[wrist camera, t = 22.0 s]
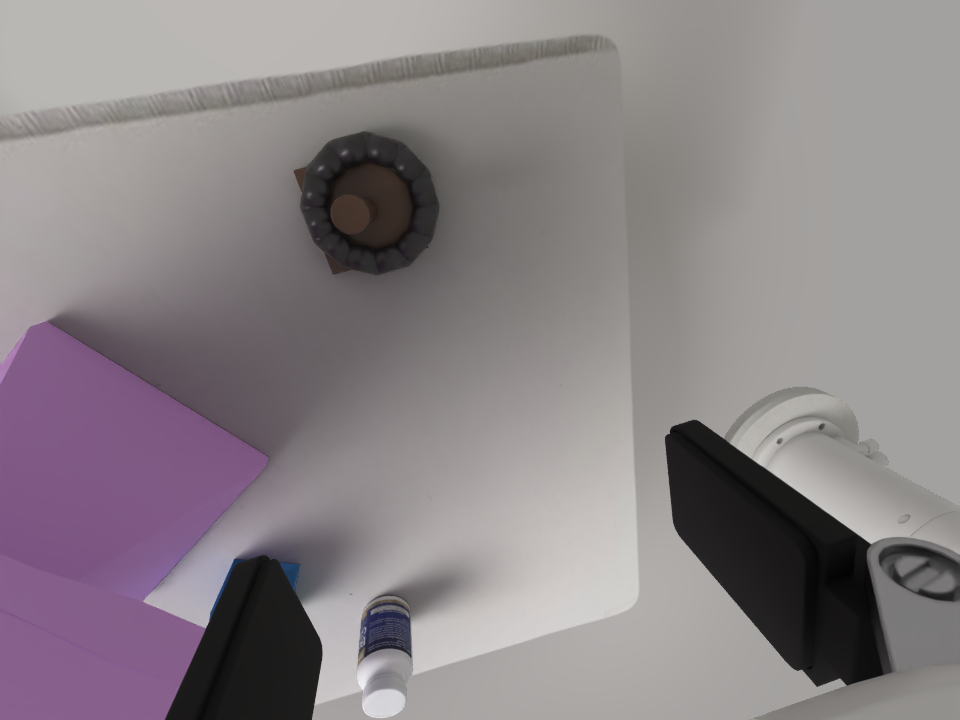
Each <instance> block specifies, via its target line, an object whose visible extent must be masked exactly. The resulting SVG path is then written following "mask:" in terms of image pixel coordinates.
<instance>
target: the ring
mask: <svg viewBox="0 0 960 720" xmlns="http://www.w3.org/2000/svg"><path fill="white" fill-rule="evenodd" d="M367 162H369V163H373V164H376V165H379V166H383V167H386V168H390V169H391V170H392V171H393V172H394V173H395V174H396V175H397V176H398V177H399V178H400V179H401V180H402V181H403V182H404V183H405V184H406V186H407V189H408V192H409V195H410V199H411V202H412V205H413V209H412V214H411V219H410V223H409V228H408V229H407V230H406V231H405V232H404V233H403V234H402V236H401V237H400V238H399V239H398V240H397V241H396V242H395V243H393V244H389V245H386V246H383V247H379V248H376V249H375V248H370V247H366V246H362V245H358V244H354V243H353V242H352V241H351V240H350V239H349V238H347V237H346V236H345V235H344V234H343V233H342V232H341V231H340V230H339V229H337V227H336V226H335V225H334V223H333V222H332V219H331V210H330V207H329V206H330V199H331V193H332V186H333V184H334V183H335V182H336V180H337V179H338V178H339V177H340V176H341V175H342V173H343V172H344V171H345V170H346V169H347V168H349V167H353V166H357V165H360V164H364V163H367ZM300 208H301V211H302V214H303V216H304V219H305V221H306V224H307V226H308V229H309V231H310V234H311V236H312V239H313V241H314V243H315V244H316V245H317V246H318V247H319V248H321V249H322V250H323V251H324V252H325V253H326V254H328V255H329V256H330V257H331V258H332V259H333V260H335V261H336V262H337V263H338V264H339V265H340V266H342V267H344V268H347V269H351V270H356V271H360V272H364V273H369V274H373V275H380V274H384V273H387V272H390V271H394V270H397V269H400V268H404V267H407V266H409V265H410V264H411V263H412V262H413V261H414V260H415V259H416V258H417V257H418V256H419V255H420V254H421V253H422V251H423V250H424V249H425V248H426V247H427V246H428V245H429V244H430V243H431V241H432V239H433V235H434V230H435V226H436V221H437V217H438V212H439V202H438V199H437V195H436V192H435V188H434V185H433V181H432V178H431V174H430V172H429V170H428V168H427V167H426V166H425V165H424V164H423V163H422V162H421V161H420V160H419V159H418V158H417V157H416V156H415V155H414V154H413V153H412V152H411V150H410V149H409V148H408V147H407V146H406V145H405V144H404V143H402V142H400V141H397V140H394V139H391V138H388V137H384V136H381V135H378V134H375V133H371V132H368V131H363V132H359V133H355V134H352V135H348V136H344V137H341V138H337V139H333V140H331V141H329V142H328V143H327V144H326V145H325V146H324V147H323V149H322V150H321V151H320V152H319V153H318V154H317V156H316V157H315V158H314V159H313V160H312V162H311V163H310V164H309V165H308V166H307V168H306V169H305V173H304V180H303V188H302V195H301V203H300Z"/></svg>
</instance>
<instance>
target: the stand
mask: <svg viewBox="0 0 960 720" xmlns="http://www.w3.org/2000/svg"><path fill="white" fill-rule="evenodd" d="M306 168H307V167H305V168H301V169H297V170H294V173H295V176H296V179H297V181H298V184H299V187H300V189H301V192H302V188H303V180H304V173H305V169H306ZM329 207H330V210H331V219H332V222H333V223H334V225H335V226H336V227H337V229H339V230H340V231H341V232H342V233H343V234H344V235H345V236H346V237H347V238H349V239H350V240H351V241H352V242H353V243H354V244H358V245H362V246H366V247H370V248H375V249H376V248H379V247H383V246H386V245H389V244H393V243H395V242H396V241H397V240H398V239H399V238H400V237H401V236H402V234H403V233H404V232H405V231H406V230H407V229H408V228H409V223H410V219H411V214H412V209H413V205H412V202H411V199H410V195H409V192H408V189H407V186H406V184H405V183H404V182H403V181H402V180H401V179H400V178H399V177H398V176H397V175H396V174H395V173H394V172H393V171H392V170H391V169H390V168H386V167H383V166H379V165H376V164H373V163H369V162H367V163H364V164H360V165H357V166H353V167H349V168H347V169H346V170H345V171H344V172H343V173H342V175H341V176H340V177H339V178H338V179H337V180H336V182H335V183H334V184H333V186H332V193H331V199H330V206H329ZM426 248H428V246H427V247H426ZM325 255H326V257H327V260H328V263H329V265H330V268H331V270H332V273H333V275H334V274H338V273H341V272H345V271H348V270H351V269H347V268H344V267H342V266H340V265H339V264H338V263H337V262H336V261H335V260H333V259H332V258H331V257H330V256H329V255H328V254H326V253H325Z"/></svg>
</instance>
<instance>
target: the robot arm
mask: <svg viewBox="0 0 960 720" xmlns="http://www.w3.org/2000/svg"><path fill="white" fill-rule="evenodd" d="M665 445H666V455H667V464H668V475H669V486H670V496H671V506H672V516H673V524H674V527H675V529H676V531H677V533H678V535H679V536H680V537H681V539H682V540H683V541H684V542H685V543H686V545H687V546H688V547H689V548H690V549H691V550H692V551H693V553H694V554H695V555H696V556H697V557H698V559H699V560H700V561H701V562H702V563H703V564H704V566H705V567H706V568H707V569H708V570H709V572H710V573H711V574H712V575H713V576H714V577H715V579H716V580H717V581H718V582H719V583H720V585H721V586H722V587H723V588H724V589H725V590H726V592H727V593H728V594H729V595H730V596H731V597H732V598H733V600H734V601H735V602H736V603H737V604H738V606H739V607H740V608H741V609H742V610H743V612H744V613H745V614H746V615H747V616H748V618H750V620H751V621H752V622H753V623H754V625H755V626H756V627H757V628H758V629H759V630H760V632H761V633H762V634H763V635H764V636H765V637H766V639H767V640H768V641H769V642H770V643H771V645H772V646H773V647H774V648H775V649H776V650H777V652H778V653H779V654H780V655H781V656H782V658H783V659H784V660H785V661H786V662H787V663H788V664H789V665H790V666H791V667H792V668H793V669H795V670H797V671H799V670H803V671H804V672H805V674H806V675H807V676H808V677H809V678H810V679H811V680H812V682H813V683H814V684H815V685H816V686H817V687H818V686H821V685H823V684H826V683H829V682H831V681H834V680H837V679H839V678H840V679H841V680H842V681H843V682H844V683H845V684H846V685H847V686H845V687H842V688H839V689H836V690H834V691H830V692H828V693H825V694H822V695H819V696H816V697H813V698H810V699H807V700H805V701H801V702H799V703H796V704H793V705H790V706H787V707H784V708H781V709H779V710H775V711H772V712H770V713H767V714H764V715H762V716H759V717H756V718H753V719H751V720H960V507H959V506H957V505H955V504H953V503H952V502H949V501H948V500H946V499H944V498H942V497H940V496H938V495H937V494H935V493H933V492H931V491H929V490H927V489H925V488H924V487H922V486H920V485H918V484H916V483H914V482H912V481H911V480H909V479H907V478H905V477H903V476H901V475H899V474H897V473H896V472H894V471H892V470H890V469H888V468H886V467H885V466H887V465H888V458H887V457H886V456H885V455H884V454H883V453H882V452H879V451H875V450H878V449H879V445H878V443H877V442H876V441H875V440H873V439H869V440H866V441H863V442H860V443H859V444H853V443H852V442H850V441H848V440H846V439H844V437H843V434H842V432H841V431H840V430H839V428H838V427H837V426H835V425H834V424H833V423H831V422H829V421H827V420H825V419H822V418H819V417H802V418H798V419H795V420H792V421H789V422H787V423H785V424H784V425H782V426H780V427H779V428H777V429H776V430H774V431H773V432H772V433H771V434H770V435H769V436H768V437H767V438H766V439H765V440H764V441H763V442H762V443H761V445H760V446H759V447H758V449H757V451H756V452H755V454H754V456H753V458H752V459H751V458H750V457H748V456H747V455H745V454H744V453H743V452H741V451H740V450H738V449H737V448H736V447H734V446H733V445H732V444H730V443H729V442H727V441H726V440H725V439H723V438H722V437H720V436H719V435H718V434H716V433H715V432H713V431H712V430H711V429H709V428H708V427H706V426H705V425H704V424H702V423H701V422H699V421H697V420H691V421H688V422H685V423H682V424H679V425H675V426H673V427H672V428H671V430H670V434H668V435H666V437H665ZM872 451H874V452H872ZM870 452H871V453H870ZM866 453H869V454H866ZM321 662H322V644H321V640H320V638H319V636H318V634H317V632H316V630H315V629H314V627H313V625H312V623H311V621H310V619H309V617H308V615H307V614H306V612H305V610H304V608H303V606H302V604H301V602H300V601H299V599H298V597H297V595H296V593H295V591H294V589H293V588H292V586H291V584H290V582H289V580H288V578H287V576H286V574H285V573H284V571H283V569H282V567H281V565H280V563H279V562H278V560H276V559H271V560H270V558H269V557H268V556H266V555H262V556H259V557H255V558H252V559H249V560H246V561H243V562H240V563H238V564H236V565H235V567H234V568H233V570H232V573H231V575H230V577H229V579H228V581H227V584H226V586H225V588H224V590H223V592H222V595H221V597H220V599H219V601H218V603H217V606H216V608H215V610H214V612H213V614H212V617H211V619H210V621H209V623H208V625H207V628H206V630H205V632H204V634H203V636H202V639H201V641H200V643H199V645H198V647H197V650H196V652H195V654H194V656H193V658H192V661H191V663H190V665H189V667H188V669H187V672H186V674H185V676H184V678H183V680H182V683H181V685H180V687H179V689H178V691H177V694H176V696H175V698H174V700H173V702H172V705H171V707H170V709H169V711H168V713H167V716H166V718H165V720H312V715H313V709H314V703H315V698H316V692H317V686H318V680H319V674H320V668H321Z"/></svg>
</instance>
